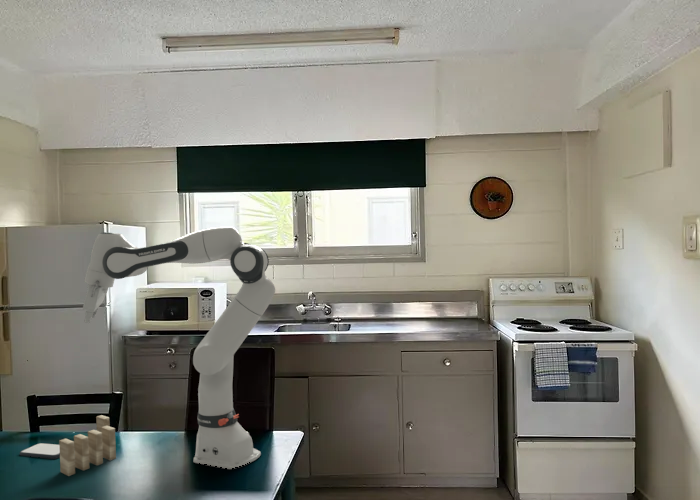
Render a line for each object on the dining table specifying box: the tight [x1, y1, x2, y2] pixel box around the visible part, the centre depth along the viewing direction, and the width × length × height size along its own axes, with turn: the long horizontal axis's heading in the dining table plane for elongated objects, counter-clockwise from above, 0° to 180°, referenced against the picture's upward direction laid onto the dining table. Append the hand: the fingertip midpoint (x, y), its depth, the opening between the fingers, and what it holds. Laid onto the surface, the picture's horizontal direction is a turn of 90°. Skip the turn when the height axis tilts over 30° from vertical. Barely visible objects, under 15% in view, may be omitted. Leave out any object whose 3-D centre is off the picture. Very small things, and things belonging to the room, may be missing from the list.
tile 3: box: [73, 433, 90, 472], centre depth 170 cm, size 2×5×10 cm, turn 54°
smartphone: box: [19, 442, 60, 460], centre depth 184 cm, size 9×2×16 cm
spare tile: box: [95, 414, 111, 432], centre depth 188 cm, size 2×5×10 cm, turn 54°
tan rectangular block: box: [101, 426, 117, 461], centre depth 177 cm, size 2×5×10 cm, turn 54°
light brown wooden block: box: [87, 429, 104, 466], centre depth 174 cm, size 2×5×10 cm, turn 55°
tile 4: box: [58, 438, 76, 477], centre depth 166 cm, size 2×5×10 cm, turn 54°
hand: (89, 319), depth 178 cm, fingers open, 8 cm apart
